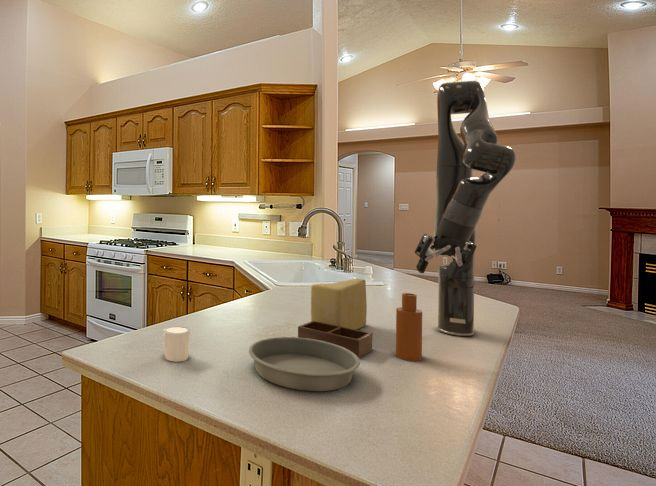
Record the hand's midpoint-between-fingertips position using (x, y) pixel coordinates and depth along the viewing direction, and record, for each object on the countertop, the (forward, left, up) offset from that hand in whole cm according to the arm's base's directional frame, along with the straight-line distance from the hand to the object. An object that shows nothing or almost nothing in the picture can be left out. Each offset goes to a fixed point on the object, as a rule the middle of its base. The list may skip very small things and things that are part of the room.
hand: (434, 273), depth 119 cm
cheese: (-1, -25, -21) cm, 32 cm away
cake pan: (+39, -17, -21) cm, 47 cm away
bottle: (+10, -3, -21) cm, 23 cm away
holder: (+16, -20, -21) cm, 33 cm away
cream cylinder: (+53, -44, -21) cm, 72 cm away
